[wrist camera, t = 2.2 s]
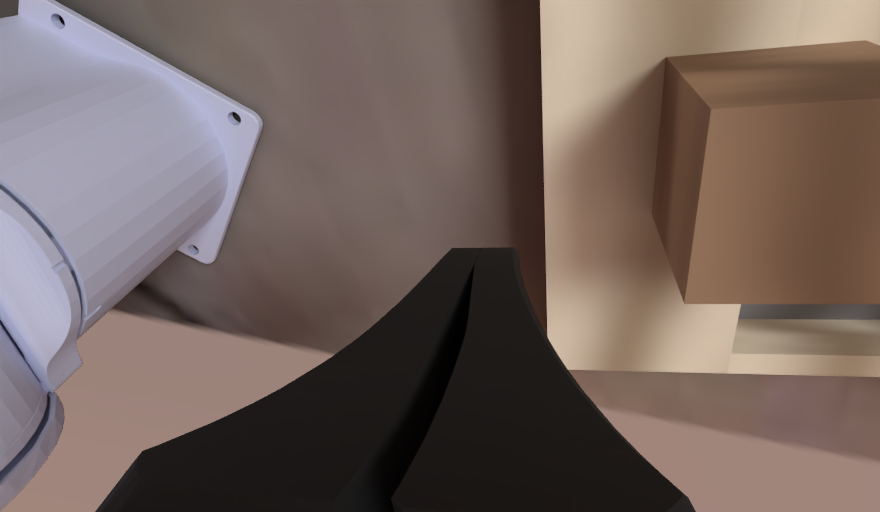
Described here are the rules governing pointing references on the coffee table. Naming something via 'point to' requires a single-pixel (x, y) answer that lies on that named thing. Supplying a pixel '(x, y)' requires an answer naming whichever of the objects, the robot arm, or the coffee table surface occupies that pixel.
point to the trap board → (632, 187)
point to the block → (772, 175)
